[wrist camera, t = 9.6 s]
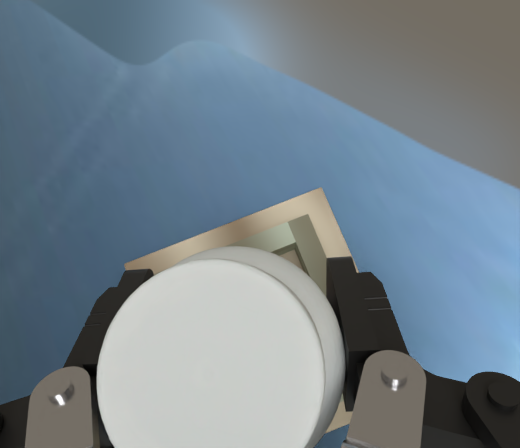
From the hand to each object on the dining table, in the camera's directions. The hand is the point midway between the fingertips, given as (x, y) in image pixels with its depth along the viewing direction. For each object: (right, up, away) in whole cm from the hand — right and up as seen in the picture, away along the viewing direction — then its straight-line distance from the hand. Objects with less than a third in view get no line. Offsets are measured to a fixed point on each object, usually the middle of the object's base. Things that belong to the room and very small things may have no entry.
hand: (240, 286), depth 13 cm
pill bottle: (0, -3, +4) cm, 5 cm away
